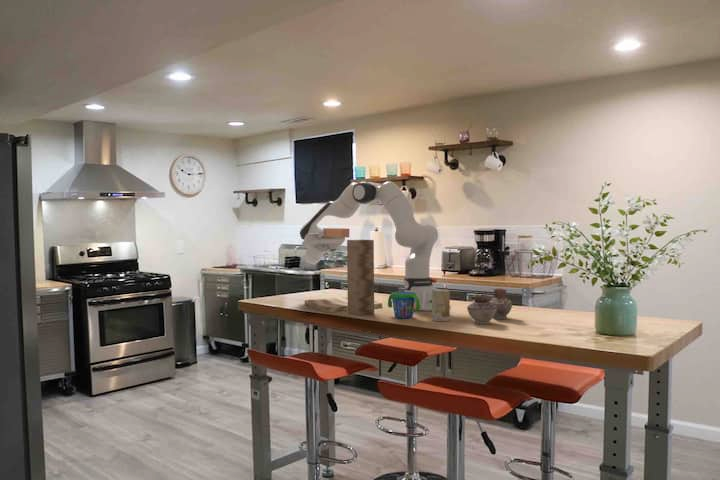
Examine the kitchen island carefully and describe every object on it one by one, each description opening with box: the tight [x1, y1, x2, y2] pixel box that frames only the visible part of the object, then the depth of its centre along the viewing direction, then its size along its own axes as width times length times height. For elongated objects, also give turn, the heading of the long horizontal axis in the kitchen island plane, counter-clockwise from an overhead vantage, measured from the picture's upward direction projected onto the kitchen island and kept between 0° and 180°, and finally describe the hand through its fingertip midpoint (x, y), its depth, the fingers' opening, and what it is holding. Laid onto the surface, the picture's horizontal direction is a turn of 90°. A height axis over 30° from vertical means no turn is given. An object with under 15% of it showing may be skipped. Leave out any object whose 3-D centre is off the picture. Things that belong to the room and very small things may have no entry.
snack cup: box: [387, 291, 420, 319], centre depth 232 cm, size 16×10×10 cm
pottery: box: [466, 288, 514, 325], centre depth 222 cm, size 11×25×12 cm, turn 138°
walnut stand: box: [346, 239, 375, 316], centre depth 243 cm, size 8×10×32 cm
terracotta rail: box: [322, 227, 350, 238], centre depth 261 cm, size 4×22×4 cm, turn 26°
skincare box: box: [431, 289, 451, 322], centre depth 223 cm, size 6×4×12 cm
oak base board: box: [304, 296, 383, 313], centre depth 266 cm, size 28×28×2 cm
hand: (329, 231), depth 268 cm, fingers closed on terracotta rail, 4 cm apart
